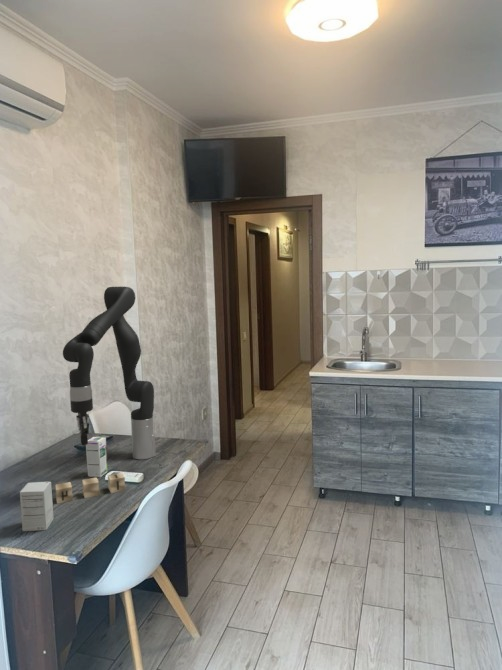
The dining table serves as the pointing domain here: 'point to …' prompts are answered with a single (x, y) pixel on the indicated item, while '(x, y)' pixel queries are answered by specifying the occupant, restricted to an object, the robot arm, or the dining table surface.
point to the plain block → (90, 487)
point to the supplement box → (36, 506)
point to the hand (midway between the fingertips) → (84, 444)
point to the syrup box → (96, 457)
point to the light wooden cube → (63, 492)
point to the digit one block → (116, 482)
